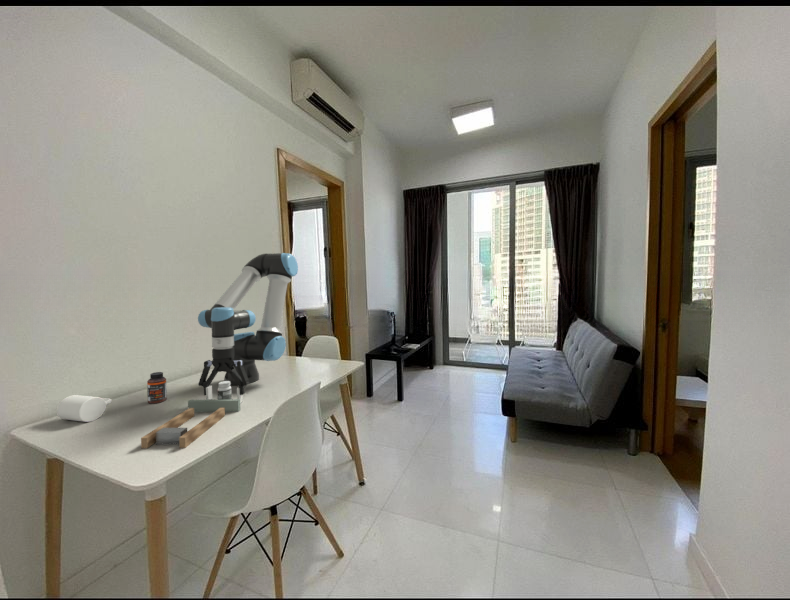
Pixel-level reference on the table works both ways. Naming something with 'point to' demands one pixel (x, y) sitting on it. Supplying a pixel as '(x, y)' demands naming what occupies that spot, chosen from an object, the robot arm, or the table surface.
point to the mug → (82, 408)
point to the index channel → (181, 419)
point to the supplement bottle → (156, 388)
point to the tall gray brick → (169, 435)
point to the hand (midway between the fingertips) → (224, 403)
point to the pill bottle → (224, 390)
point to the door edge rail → (214, 405)
